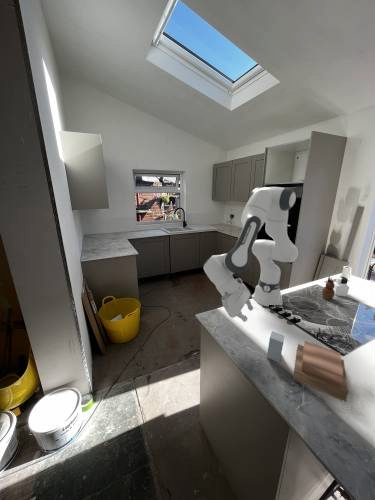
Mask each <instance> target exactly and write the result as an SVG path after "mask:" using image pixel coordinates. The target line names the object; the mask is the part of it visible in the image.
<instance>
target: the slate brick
mask: <svg viewBox="0 0 375 500" xmlns="http://www.w3.org/2000/svg"><path fill="white" fill-rule="evenodd" d="M268 340H269V341H268V347H267V354H266V359H267V358H268V359H270V360H272V361H274V362H277V363H280V361H281V356H282V352H283V347H284V341H285V334H282V333H280V332H277V331H274V330H272V331H271V333H270V336H269V339H268Z"/></svg>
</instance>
